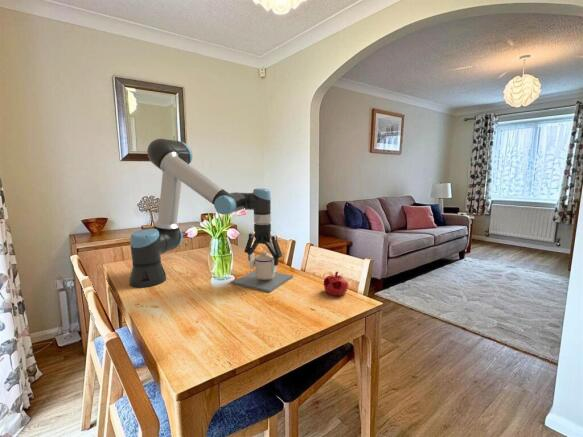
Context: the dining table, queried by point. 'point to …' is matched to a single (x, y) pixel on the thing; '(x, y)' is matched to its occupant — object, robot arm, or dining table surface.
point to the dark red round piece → (335, 285)
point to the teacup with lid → (264, 266)
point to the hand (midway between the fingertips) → (263, 269)
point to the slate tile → (262, 281)
